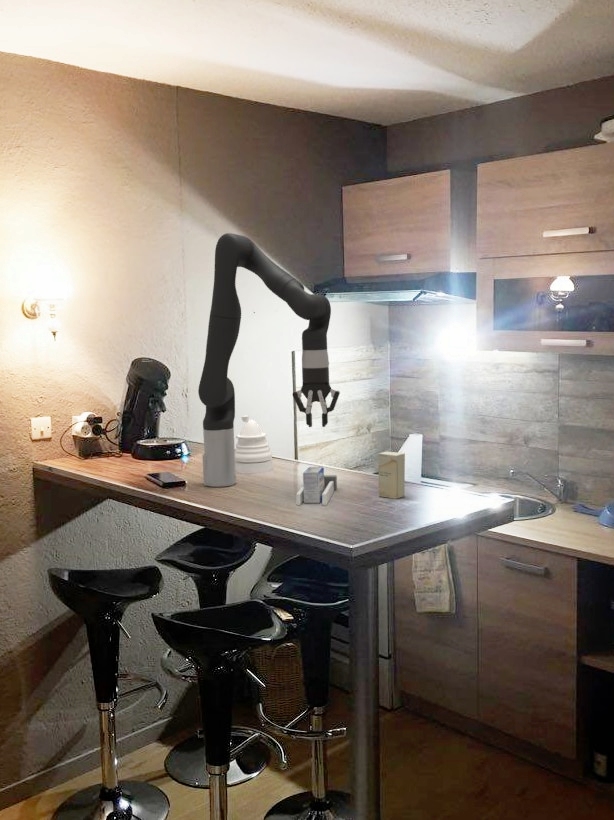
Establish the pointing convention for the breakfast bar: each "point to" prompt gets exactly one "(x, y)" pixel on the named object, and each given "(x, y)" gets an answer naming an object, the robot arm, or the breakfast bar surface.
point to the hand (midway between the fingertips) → (317, 426)
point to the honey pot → (252, 449)
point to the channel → (330, 487)
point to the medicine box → (313, 484)
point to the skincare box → (391, 474)
